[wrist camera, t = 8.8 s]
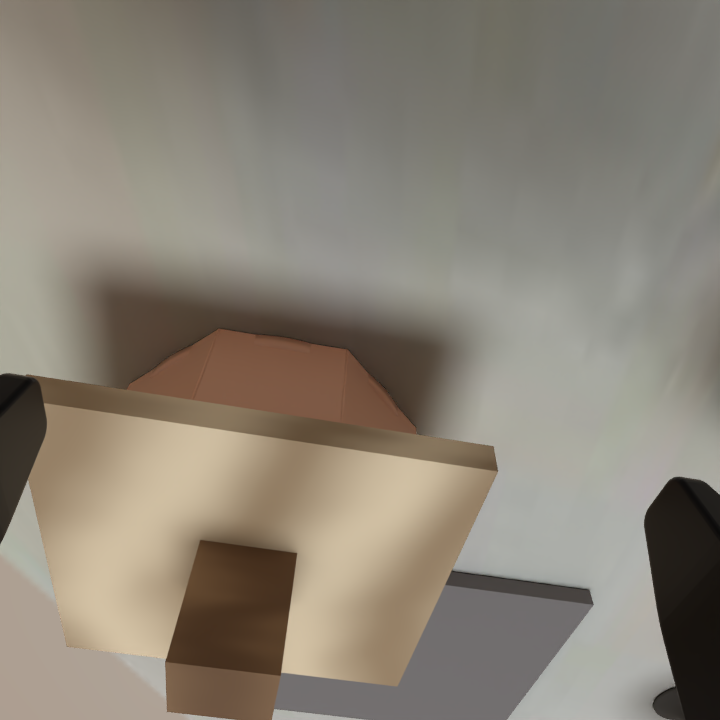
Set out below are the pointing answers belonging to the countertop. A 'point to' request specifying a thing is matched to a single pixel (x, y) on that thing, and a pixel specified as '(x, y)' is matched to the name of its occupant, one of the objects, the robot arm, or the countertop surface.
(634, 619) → the countertop surface
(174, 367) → the bowl
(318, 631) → the lid
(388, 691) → the mat
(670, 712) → the sundae
